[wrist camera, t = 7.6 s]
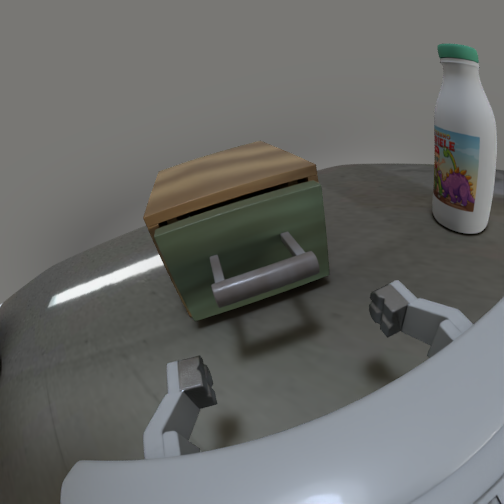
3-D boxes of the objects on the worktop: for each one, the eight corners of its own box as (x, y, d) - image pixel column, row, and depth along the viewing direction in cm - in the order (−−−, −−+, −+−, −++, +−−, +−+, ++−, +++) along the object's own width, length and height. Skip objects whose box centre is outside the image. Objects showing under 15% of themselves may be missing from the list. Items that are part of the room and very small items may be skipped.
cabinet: (327, 270, 23) (316, 164, 18) (190, 317, 22) (142, 217, 17) (275, 210, 36) (260, 140, 31) (183, 240, 35) (158, 171, 29)
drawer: (357, 309, 18) (359, 208, 14) (201, 366, 17) (147, 277, 13) (276, 213, 33) (264, 152, 29) (186, 242, 32) (164, 182, 28)
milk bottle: (465, 202, 27) (461, 52, 17) (497, 231, 21) (503, 53, 10) (421, 207, 28) (410, 44, 18) (451, 240, 22) (449, 37, 11)
